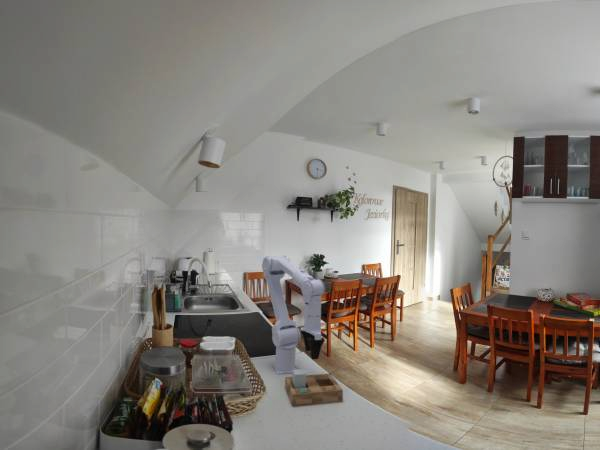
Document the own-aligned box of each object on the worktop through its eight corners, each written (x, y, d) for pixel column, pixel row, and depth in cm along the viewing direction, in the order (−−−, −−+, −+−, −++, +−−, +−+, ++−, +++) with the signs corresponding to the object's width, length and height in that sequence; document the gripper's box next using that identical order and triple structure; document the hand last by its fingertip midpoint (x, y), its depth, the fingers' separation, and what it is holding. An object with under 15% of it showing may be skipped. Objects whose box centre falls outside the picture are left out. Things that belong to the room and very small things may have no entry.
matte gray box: (291, 391, 105) (292, 370, 106) (302, 390, 106) (303, 369, 106) (294, 397, 102) (295, 374, 102) (305, 396, 103) (306, 374, 103)
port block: (285, 387, 109) (285, 376, 109) (330, 383, 113) (330, 372, 113) (292, 406, 98) (292, 394, 98) (342, 401, 101) (342, 389, 101)
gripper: (296, 310, 118) (295, 348, 118) (306, 320, 104) (305, 363, 104) (315, 309, 120) (314, 346, 119) (327, 319, 106) (326, 362, 105)
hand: (311, 354), depth 112 cm, fingers open, 7 cm apart
